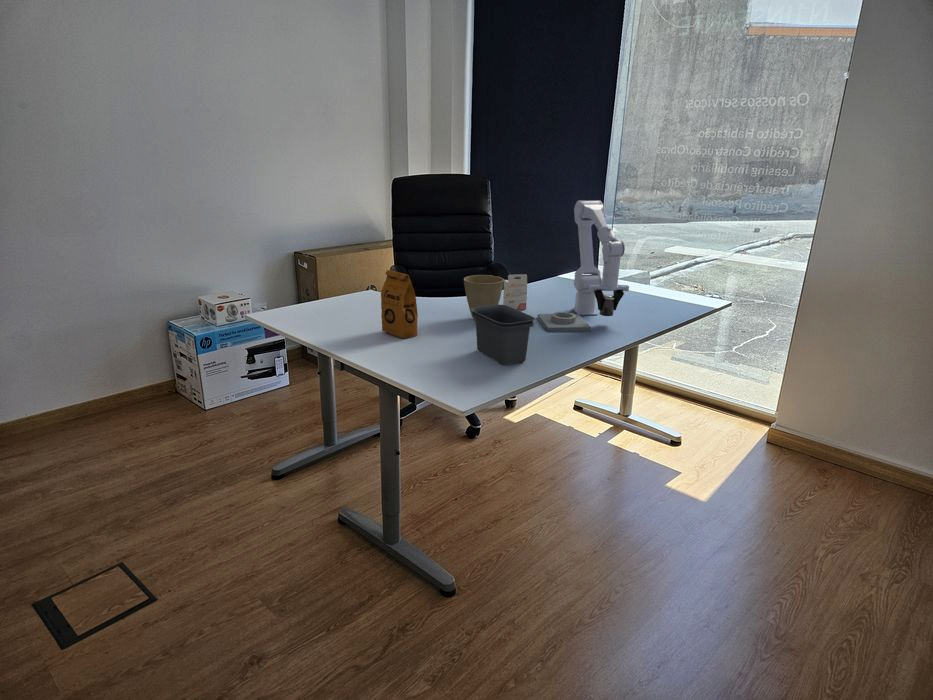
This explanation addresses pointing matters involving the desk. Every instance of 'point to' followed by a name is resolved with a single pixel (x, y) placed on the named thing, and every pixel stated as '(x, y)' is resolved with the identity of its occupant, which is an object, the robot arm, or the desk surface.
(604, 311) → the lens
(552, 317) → the mount plate
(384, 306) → the coffee package
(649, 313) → the desk surface
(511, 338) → the storage bin
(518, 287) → the ink cartridge box
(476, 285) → the plant pot
